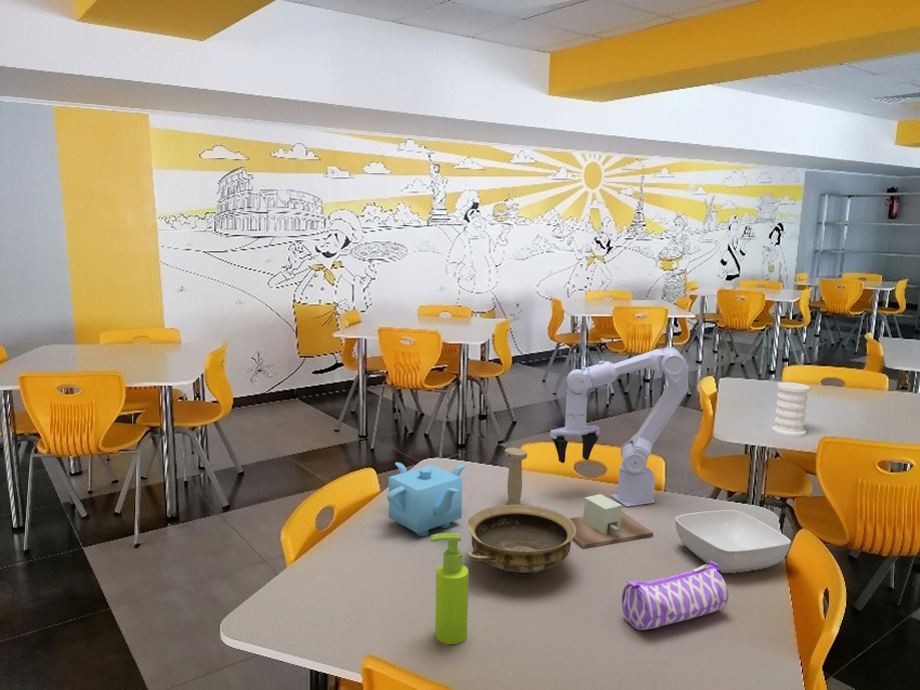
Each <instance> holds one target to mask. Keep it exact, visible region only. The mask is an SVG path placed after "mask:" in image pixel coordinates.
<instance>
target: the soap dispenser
mask: <svg viewBox="0 0 920 690" xmlns="http://www.w3.org/2000/svg"><path fill="white" fill-rule="evenodd" d="M461 540H462V537H461V533H459V532H439V533H434V534H431V535H430V541H432V542H433V543H435V542H440V541H441V542H443V541H447V545H448V546H447V548H446V549H445V550H443V553H442V554H443V555H442V556H443V557H442V558H443V559H442V564H439V566H437V568H436V570H435V620H434V621H435V629H434V630H435V632H434V635H435V636H436V637H435V639H436V638H437V639H438V640H439V641H440V643H441V642H442V643H441V644H444V645H448V644H455V645H459V644H461V642H462V643H463V642H464V641H466V639H467V637H468V634H467V633H468V611H469V610H468V605H469V604H468V602H469V601H468V599H469V568H468V567H467V566H466V565H464V564H463V552H462V550H461V549H459V548H458V543H459V542H461ZM437 639H436V640H437ZM438 640H437V641H438ZM439 641H438V642H439ZM458 643H459V644H458Z"/></svg>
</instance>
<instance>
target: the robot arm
mask: <svg viewBox="0 0 920 690" xmlns="http://www.w3.org/2000/svg"><path fill="white" fill-rule="evenodd" d="M689 368H690V367H689V365H688V363H687V361H686V359H685V357H684V356H683V355H682V354H681V353H680V351H679V350H678V349H677V348H674V347H672V346H666V347H663V348H656V349H653V350H651V351H647V352H644V353H641V354H639V355H636V356H633V357H630V358H627V359H624V360H621V361H619V362H616V363H613V362H610V361H604V360H599V361H598V363H597V364H593V365H590V366H588V367H586V366H582V367H581V369H577V368H576V369H573V370H571V371H570V372H569V373H568V374H567V377H566V385H567V390H566V394H567V395H566V399H565V418H564V419H565V422H564V426H563V427H560V428H559V427H558V428H555V429H550V432H549V437H550V438H551V440H552V442H553V445H554V446H555V450H556V452H557V457H558V462H560V463H561V464H565V463H566V462H565V461H566V451H567V447H568V443H569V441H568V440H566V438H567V437H575V436H581V441H582V454H581V455H582V459H583V460H585V461H588V460H590V455H591V453H592V450H593V449H594V447H595V444H596V443H597V442H598V440H599V436H598V435H600V430H601V429H600V426H598V425H587V415H588V414H587V411H588V410H587V409H588V395H587V393H588V389H591V388H596V387H600V386H602V385H607V384H610V383H613V382H615V381H616V379H617V377H618V376H620V375H624V374H629V373H632V372H637V371H639V370H640V371H641V370H644V369H649V370H652V371H655V372H660V369H661V370H662V372H663V373H664V377H665V381H666V383H667V386H666V388H665V389H664V390H663V393H662V394H661V395H660V397H659V399H658V400H657V402H656V403H655V405H654V406H653V408H652V410H650V413H649V414H648V415H647V417H646V418H645V420H644V422H643V424H642V425H641V427H640V429H639V430H638V431H637V433H635V434H634V435H633V436H632V437H631V438H630V439H629V440H628V441H627V442H625V443H624V444H623V445H622V446H621V448H620V456H621V458H622V459H621V460H622V462H621V464H620V465H619V467H618V483H617V493H613V494H610V497H611V498H613V499H614V500H616V501H618V503H619V504H621V505H624V506H625V507H627V508H629V507H634V506H640V505H641V506H642V505H648V504H654V503H656V500H655V499H654V498H655V497H654V496H655V484H656V479H655V475H654V474H655V473H654V471H653V470H652V469H651V468H649V467H647V465H648V458H649V456H650V455H651V453H652V448H653V445H654V443H655V442H656V440H657V439H658V437H659V436H660V434H661V432H662V431H663V429H664V428H665V426H666V425H667V423H668V422H669V421H670V419H671V417H672V416H673V414H674V413H675V411H676V410H677V408H678V406H679V405H680V403H681V402H682V400H683V399H684V397H685V396H686V394H687V392H688V391H689Z"/></svg>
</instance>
